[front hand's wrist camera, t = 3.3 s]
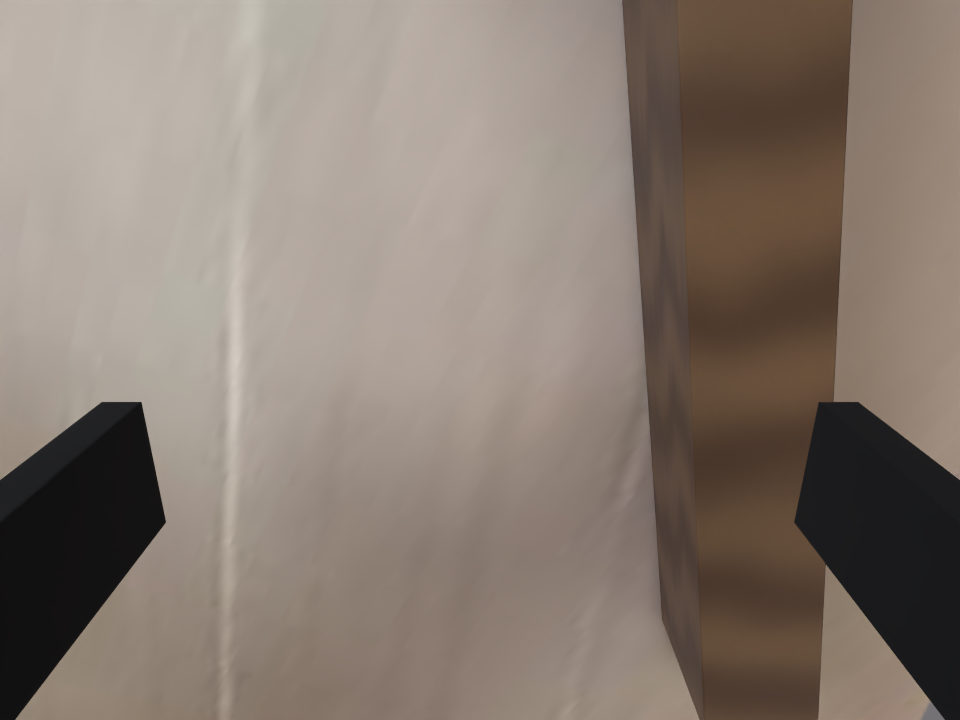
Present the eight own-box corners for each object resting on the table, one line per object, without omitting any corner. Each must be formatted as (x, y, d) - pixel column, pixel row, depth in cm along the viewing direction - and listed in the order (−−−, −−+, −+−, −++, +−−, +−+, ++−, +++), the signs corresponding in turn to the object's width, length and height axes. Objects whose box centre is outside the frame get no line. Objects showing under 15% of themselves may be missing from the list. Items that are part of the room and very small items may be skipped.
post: (754, 608, 38) (819, 720, 31) (661, 619, 38) (704, 734, 31) (755, -931, 18) (930, -1572, 11) (564, -888, 19) (620, -1492, 12)
